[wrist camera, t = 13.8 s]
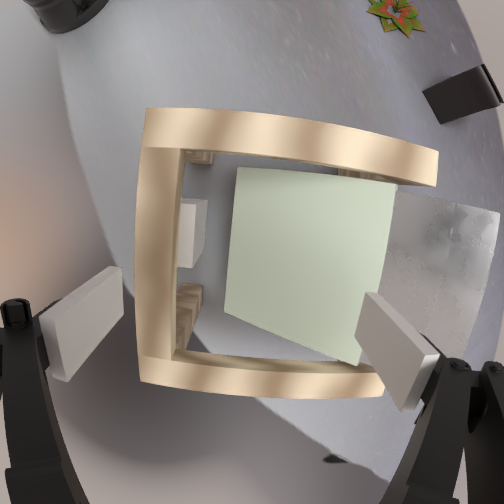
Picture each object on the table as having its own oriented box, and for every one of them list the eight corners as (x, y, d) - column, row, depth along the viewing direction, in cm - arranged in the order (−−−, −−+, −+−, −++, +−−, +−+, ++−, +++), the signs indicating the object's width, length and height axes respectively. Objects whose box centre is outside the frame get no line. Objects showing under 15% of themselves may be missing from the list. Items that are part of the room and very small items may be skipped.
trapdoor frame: (182, 302, 43) (140, 381, 24) (193, 141, 38) (146, 107, 19) (334, 316, 44) (381, 396, 25) (359, 162, 39) (438, 151, 20)
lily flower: (379, 42, 35) (390, 30, 30) (349, -13, 32) (356, -27, 28) (433, 40, 34) (446, 31, 30) (404, -12, 31) (414, -23, 27)
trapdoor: (491, 208, 20) (502, 206, 16) (449, 365, 24) (445, 395, 19) (269, 172, 35) (237, 166, 30) (255, 299, 38) (223, 311, 34)
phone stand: (453, 76, 35) (496, 58, 23) (469, 107, 36) (514, 96, 25) (421, 91, 36) (465, 71, 24) (439, 124, 37) (487, 113, 26)
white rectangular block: (192, 268, 33) (203, 250, 42) (196, 204, 31) (207, 200, 40) (145, 263, 33) (165, 246, 41) (147, 201, 31) (168, 197, 40)
